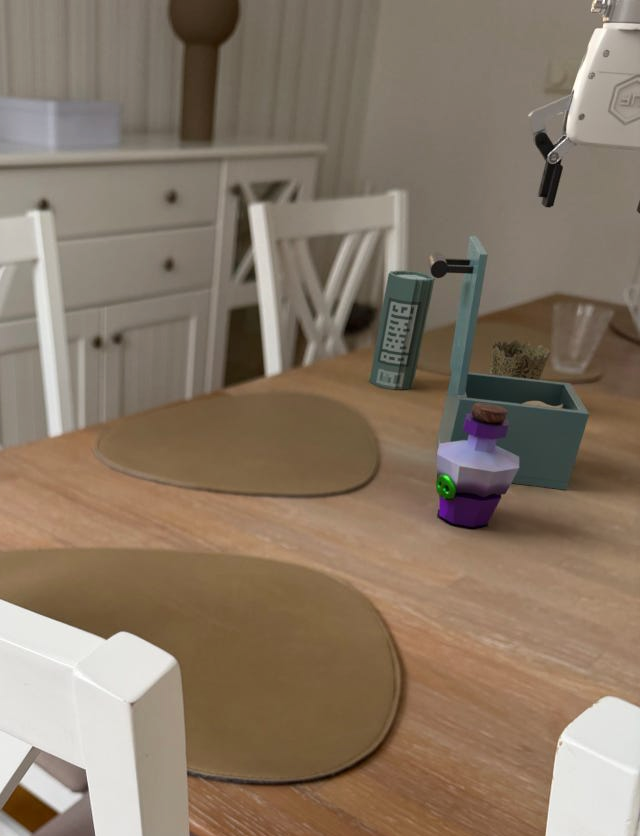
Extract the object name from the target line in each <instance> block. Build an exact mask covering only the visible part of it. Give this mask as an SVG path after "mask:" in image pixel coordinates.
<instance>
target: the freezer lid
mask: <svg viewBox="0 0 640 836" xmlns="http://www.w3.org/2000/svg"><path fill="white" fill-rule="evenodd" d="M488 256H489V255H488V253H487V251H486V248H485V247H484V246H483V243H482V242H481V240H480V239H479V238H478V236H477V235H470V236H469V238H468V244H467V251H466V258H453V257H452V258H450V257H449V258H448V257H445V255H444V254H443V253H442V252H433V253H432V254H431V255H430V256H429V258H428V259H427V260H428V261H427V263H428V267H429V270H430V275H432V276H433V277H435V279H441V278H443V277H445V276H446V275H447V274H463V276H462V277H463V278H462V282H461V283H462V284H461V290H460V297H459V303H458V310H457V314H456V315H457V316H456V322H455V328H454V334H453V341H452V348H451V355H450V361H449V369H450V372H451V373H452V377H453V380H454V384H455V388H456V392H457V395H465V389H466V383H467V377H468V372H470V371H469V370H470V365H471V358H472V353H473V352H472V351H473V346H474V340H475V335H476V328H477V323H478V317H479V310H480V304H481V298H482V291H483V287H484V280H485V275H486V274H485V273H486V268H487V261H488Z"/></svg>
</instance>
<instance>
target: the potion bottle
mask: <svg viewBox="0 0 640 836" xmlns="http://www.w3.org/2000/svg"><path fill="white" fill-rule="evenodd" d="M507 412H508V411H507V410H506V409H505V408H503V407H500V406H497V405H493V404H487V403H475V404H474V406H473V408H472V410H471V413H468V414H466V419H465V423H464V428H463V431H464V432H466V433H468V434H469V437H468V441H466V440H461V441H454V442H447V443H440V444H439V448H438V447H437V453H436V480H435V481H436V482H435V487H436V488H435V489H436V493H437V494H438V496H439V502H438V503H439V506H438V510H437V514H436V518H437V519H439V520H440V521H443V522H444V523H446V524H447V525H449V526H451V527H457V528H461V529H467V530H476V529H481V528H482V529H483V528H488V527H489V522H490V520H491V518H492V516H493V514H494V513H495V511H496V509H497V506H498V504H499V503H500V501H501V499H502V495H506V494H507V492H508V490H509V488H510V486H511V485H512V483H511V482H512V481H513V479H514V477H515V475H516V473H517V471H518V469H519V456H517V455H515V454H513V453H511V452H508V451H506V450H504V449H502V448H500V447H498V446H496V442H497V439H499V438H505V437H506V433H507V429H508V425H509V420H507V419H505V418H506V415H507Z"/></svg>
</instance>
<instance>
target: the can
mask: <svg viewBox="0 0 640 836" xmlns="http://www.w3.org/2000/svg"><path fill="white" fill-rule="evenodd" d="M435 280H436V278H435V277H434V276H433V275H432V274H428V273H425V272H422V271H421V272H420V271H414V270H403V269H401V270H400V269H399V270H390V271H389V272H388V275H387V281H386V286H385V292H384V297H383V301H382V308H381V313H380V320H379V325H378V330H377V336H376V341H375V347H374V352H373V359H372V364H371V369H370V375H369V379H368V381H369V382H370V383H371V384H372V385H375V386H376V387H380V388H383V389H389V390H400V391H401V390H408V389H412V388H413V386H414V384H415V378H416V374H417V369H418V363H419V358H420V355H421V349H422V345H423V340H424V335H425V329H426V323H427V319H428V315H429V310H430V304H431V299H432V294H433V290H434V284H435Z"/></svg>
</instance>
